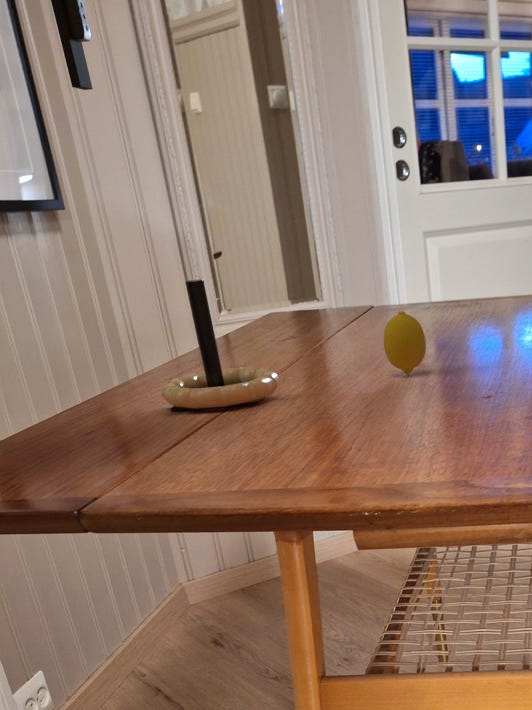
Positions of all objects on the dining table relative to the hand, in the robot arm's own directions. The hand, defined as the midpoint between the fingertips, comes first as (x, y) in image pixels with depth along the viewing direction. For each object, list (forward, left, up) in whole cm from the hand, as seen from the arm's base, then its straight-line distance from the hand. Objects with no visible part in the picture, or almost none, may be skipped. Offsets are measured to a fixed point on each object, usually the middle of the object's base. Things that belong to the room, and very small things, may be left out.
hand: (5, 95), depth 75 cm
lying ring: (+9, +17, -29) cm, 35 cm away
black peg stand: (+8, +17, -32) cm, 37 cm away
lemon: (+30, +30, -32) cm, 53 cm away
